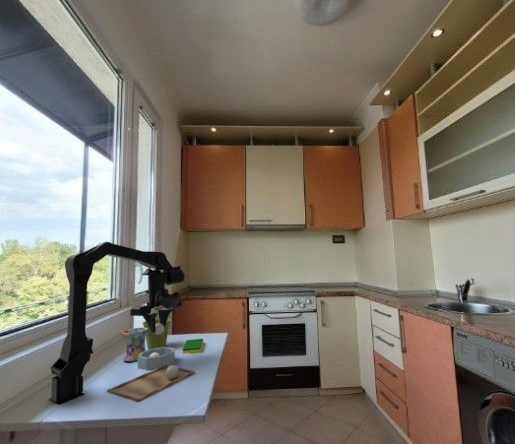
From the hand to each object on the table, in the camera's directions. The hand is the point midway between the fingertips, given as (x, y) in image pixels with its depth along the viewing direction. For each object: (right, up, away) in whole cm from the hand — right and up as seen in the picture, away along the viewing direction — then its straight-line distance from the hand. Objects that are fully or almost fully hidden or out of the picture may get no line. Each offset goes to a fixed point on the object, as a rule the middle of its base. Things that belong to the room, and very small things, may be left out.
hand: (158, 331), depth 102 cm
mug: (-12, -14, +9) cm, 20 cm away
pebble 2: (+10, -8, -16) cm, 20 cm away
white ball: (-1, -11, -1) cm, 11 cm away
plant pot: (-7, -15, +20) cm, 26 cm away
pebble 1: (0, -1, 0) cm, 1 cm away
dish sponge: (+9, -14, +16) cm, 23 cm away
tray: (+5, -9, -17) cm, 20 cm away
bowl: (0, -12, 0) cm, 12 cm away
